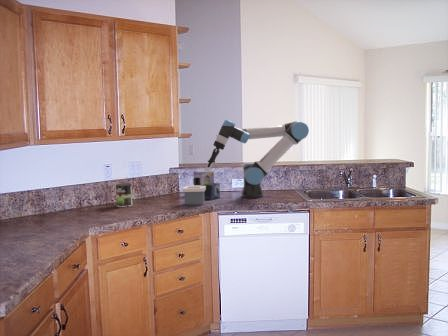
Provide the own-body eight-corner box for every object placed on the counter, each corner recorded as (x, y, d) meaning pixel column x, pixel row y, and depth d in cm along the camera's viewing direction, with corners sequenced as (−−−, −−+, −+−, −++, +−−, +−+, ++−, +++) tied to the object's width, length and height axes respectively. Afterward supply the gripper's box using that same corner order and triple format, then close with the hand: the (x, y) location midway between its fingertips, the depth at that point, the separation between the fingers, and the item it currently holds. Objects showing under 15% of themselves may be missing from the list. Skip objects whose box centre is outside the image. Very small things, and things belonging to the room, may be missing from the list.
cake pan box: (193, 193, 358) (192, 170, 356) (198, 193, 361) (197, 169, 359) (210, 196, 344) (209, 171, 342) (215, 195, 347) (214, 171, 345)
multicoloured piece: (127, 207, 309) (126, 185, 308) (113, 206, 313) (112, 185, 311) (135, 204, 319) (134, 183, 317) (122, 204, 322) (121, 183, 321)
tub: (204, 202, 319) (204, 189, 318) (203, 204, 311) (203, 191, 310) (186, 203, 319) (185, 189, 318) (185, 205, 311) (184, 191, 310)
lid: (205, 188, 320) (205, 184, 319) (204, 191, 308) (204, 187, 307) (184, 189, 320) (184, 185, 320) (182, 192, 308) (182, 187, 308)
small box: (211, 200, 328) (210, 184, 327) (203, 199, 332) (203, 184, 331) (220, 197, 336) (220, 183, 335) (213, 197, 340) (212, 182, 339)
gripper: (216, 139, 334) (203, 167, 335) (214, 139, 309) (200, 169, 310) (226, 144, 333) (213, 172, 335) (224, 144, 309) (210, 174, 310)
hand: (207, 171), depth 323 cm, fingers open, 13 cm apart
